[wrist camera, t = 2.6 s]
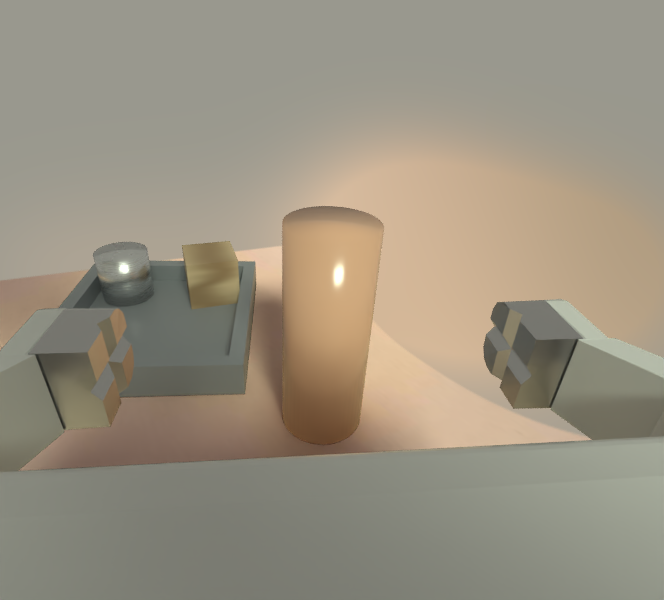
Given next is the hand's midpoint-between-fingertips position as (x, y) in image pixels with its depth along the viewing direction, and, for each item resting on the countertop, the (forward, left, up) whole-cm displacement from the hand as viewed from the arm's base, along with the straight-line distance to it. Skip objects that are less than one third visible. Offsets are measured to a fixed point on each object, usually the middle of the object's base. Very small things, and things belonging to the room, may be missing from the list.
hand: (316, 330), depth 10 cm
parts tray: (-10, +22, -15) cm, 29 cm away
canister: (+2, +12, -15) cm, 20 cm away
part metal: (-14, +26, -14) cm, 33 cm away
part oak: (-7, +26, -14) cm, 30 cm away
